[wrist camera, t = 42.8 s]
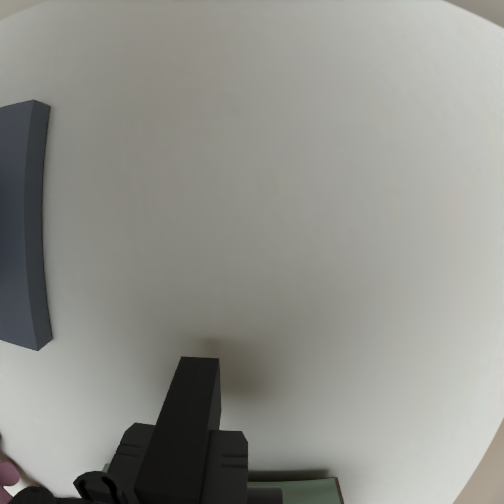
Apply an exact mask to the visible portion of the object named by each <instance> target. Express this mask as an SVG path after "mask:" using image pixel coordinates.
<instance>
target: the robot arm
mask: <svg viewBox="0 0 504 504" xmlns="http://www.w3.org/2000/svg"><path fill="white" fill-rule="evenodd" d="M220 417H221V393H220V369H219V358H199V357H183V356H181V359H180V361H179V364H178V366H177V369H176V372H175V374H174V377H173V380H172V382H171V385H170V388H169V390H168V393H167V396H166V398H165V401H164V404H163V407H162V409H161V412H160V415H159V417H158V420H157V423H156V425H149V424H142V423H134V424H133V425H132V426H131V427H130V428H128V429H127V430H126V431H125V433H124V435H123V437H122V439H121V441H120V445H119V446H118V448H117V450H116V454H115V455H114V457H113V459H112V461H111V464H110V466H109V468H108V470H107V473H106V472H101V471H91V472H86V473H84V474H82V475H80V476H79V477H77V479H76V480H75V481H74V482H73V484H74V486H75V488H76V489H77V491H78V493H79V494H80V496H81V497H82V498H78V499H70V498H54V496H53V495H52V494H51V493H50V492H49V491H48V490H47V489H44V488H42V487H38V486H31V487H26V488H24V489H23V490H21V491H19V492H18V493H17V494H16V495H15V496H14V497H13V498H12V499H11V500H10V501H9V502H8V503H7V504H247V480H248V441H247V440H246V438H245V436H244V434H243V433H242V431H223V430H219V425H220Z"/></svg>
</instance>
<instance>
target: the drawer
mask: <svg viewBox="0 0 504 504" xmlns="http://www.w3.org/2000/svg"><path fill="white" fill-rule="evenodd" d="M109 466H110V465H109V464H105V466H104V468H103V470H102V472H106V473H107V470H108V468H109ZM247 504H341V503H340V499H339V495H338V491H337V487H336V483H335V479H334V478H328V479H318V480H305V481H285V482H247Z"/></svg>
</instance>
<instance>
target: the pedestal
mask: <svg viewBox="0 0 504 504" xmlns="http://www.w3.org/2000/svg"><path fill="white" fill-rule="evenodd" d="M49 110H50V106H49V105H46V104H44V103H41V102H38V101H35V100H30V101H25V102H21V103H17V104H13V105H9V106H5V107H1V108H0V340H3V341H6V342H9V343H12V344H15V345H18V346H22V347H25V348H29V349H32V350H36V351H39V350H40V349H41V348H43V347H44V346H45V345H46V344H47V343H49V342H50V341H51V340H52V336H51V330H50V323H49V316H48V309H47V301H46V292H45V282H44V269H43V253H42V178H43V163H44V151H45V141H46V132H47V124H48V117H49Z"/></svg>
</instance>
